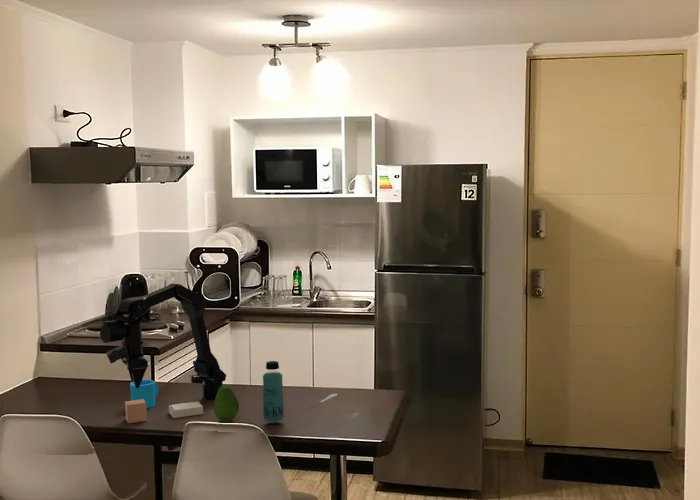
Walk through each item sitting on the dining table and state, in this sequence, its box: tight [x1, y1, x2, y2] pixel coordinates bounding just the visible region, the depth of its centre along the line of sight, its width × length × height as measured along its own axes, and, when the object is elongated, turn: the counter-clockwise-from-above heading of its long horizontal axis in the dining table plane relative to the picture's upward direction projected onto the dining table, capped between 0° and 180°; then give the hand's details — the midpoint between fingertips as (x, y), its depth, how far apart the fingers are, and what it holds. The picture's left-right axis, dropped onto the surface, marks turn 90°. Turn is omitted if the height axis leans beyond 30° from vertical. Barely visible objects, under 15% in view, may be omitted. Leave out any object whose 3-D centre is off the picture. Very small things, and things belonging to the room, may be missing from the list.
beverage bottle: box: [262, 360, 285, 423], centre depth 254 cm, size 6×7×20 cm
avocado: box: [213, 384, 240, 423], centre depth 258 cm, size 8×8×12 cm
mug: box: [129, 379, 160, 409], centre depth 281 cm, size 12×8×8 cm
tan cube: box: [124, 399, 148, 424], centre depth 262 cm, size 6×5×6 cm
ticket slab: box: [168, 401, 204, 419], centre depth 269 cm, size 10×7×3 cm
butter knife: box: [319, 393, 338, 403], centre depth 277 cm, size 1×24×3 cm
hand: (135, 384), depth 262 cm, fingers open, 9 cm apart
